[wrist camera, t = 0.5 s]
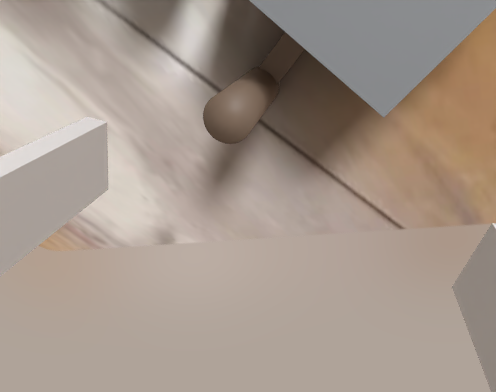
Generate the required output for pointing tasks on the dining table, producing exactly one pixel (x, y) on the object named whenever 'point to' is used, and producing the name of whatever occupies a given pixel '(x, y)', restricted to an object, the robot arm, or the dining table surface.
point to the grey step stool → (378, 39)
